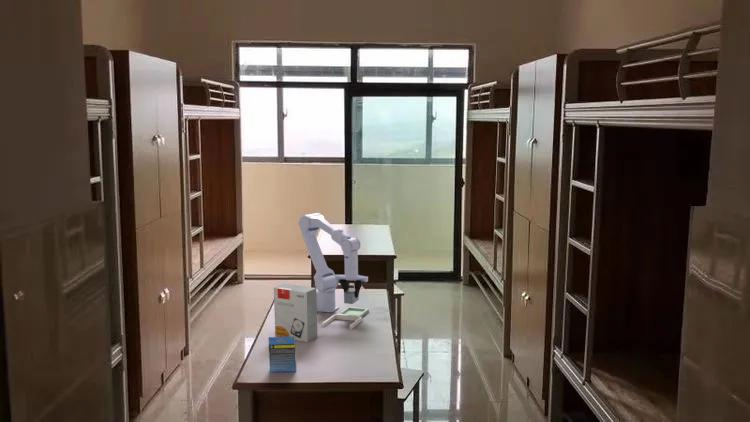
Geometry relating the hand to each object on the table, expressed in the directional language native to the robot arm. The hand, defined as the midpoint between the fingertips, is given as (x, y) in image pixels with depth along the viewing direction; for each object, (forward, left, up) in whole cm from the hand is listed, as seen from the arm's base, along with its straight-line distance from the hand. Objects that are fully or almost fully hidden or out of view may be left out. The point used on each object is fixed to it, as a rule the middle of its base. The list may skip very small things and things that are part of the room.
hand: (351, 296), depth 283 cm
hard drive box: (-11, -33, -9) cm, 35 cm away
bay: (0, -12, -8) cm, 14 cm away
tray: (0, +1, -8) cm, 9 cm away
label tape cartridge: (0, -66, -9) cm, 66 cm away
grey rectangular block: (0, -1, -2) cm, 2 cm away
